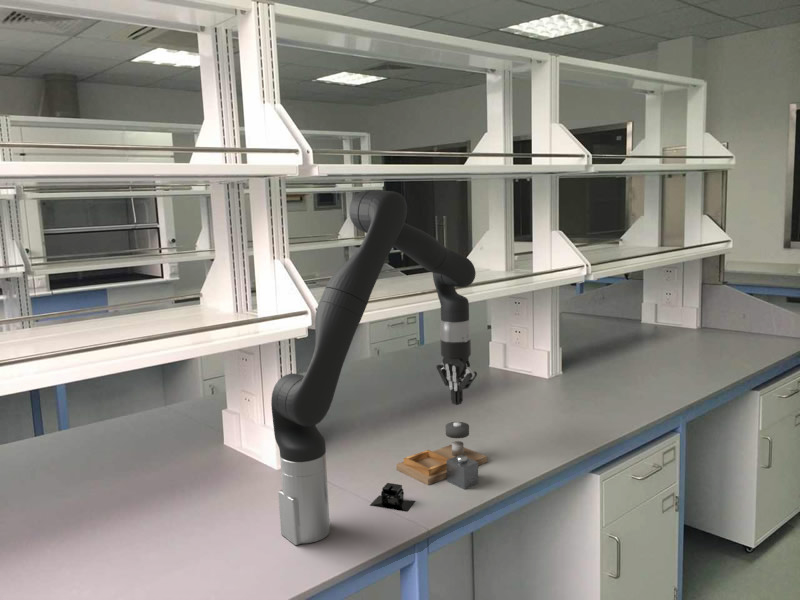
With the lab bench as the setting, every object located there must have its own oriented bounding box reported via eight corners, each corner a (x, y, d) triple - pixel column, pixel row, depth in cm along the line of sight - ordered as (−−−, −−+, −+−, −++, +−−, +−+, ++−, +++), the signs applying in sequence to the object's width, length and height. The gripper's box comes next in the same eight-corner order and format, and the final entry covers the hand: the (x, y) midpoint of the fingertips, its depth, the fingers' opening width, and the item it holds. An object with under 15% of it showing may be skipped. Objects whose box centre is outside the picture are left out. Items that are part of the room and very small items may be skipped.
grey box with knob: (464, 490, 154) (463, 463, 153) (446, 481, 158) (446, 456, 157) (478, 484, 157) (477, 458, 156) (460, 476, 161) (460, 450, 160)
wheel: (457, 440, 166) (456, 429, 165) (440, 433, 170) (440, 423, 170) (474, 434, 169) (473, 423, 169) (457, 428, 174) (457, 418, 173)
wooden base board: (428, 485, 157) (427, 467, 156) (396, 469, 166) (396, 452, 165) (486, 461, 169) (486, 445, 168) (454, 448, 178) (454, 432, 178)
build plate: (361, 508, 148) (360, 489, 147) (374, 494, 154) (374, 475, 153) (412, 517, 143) (412, 497, 142) (424, 502, 149) (424, 483, 149)
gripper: (426, 336, 168) (428, 401, 171) (463, 344, 158) (464, 413, 161) (448, 331, 173) (450, 395, 176) (485, 339, 163) (486, 406, 166)
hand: (457, 403), depth 168 cm, fingers closed
